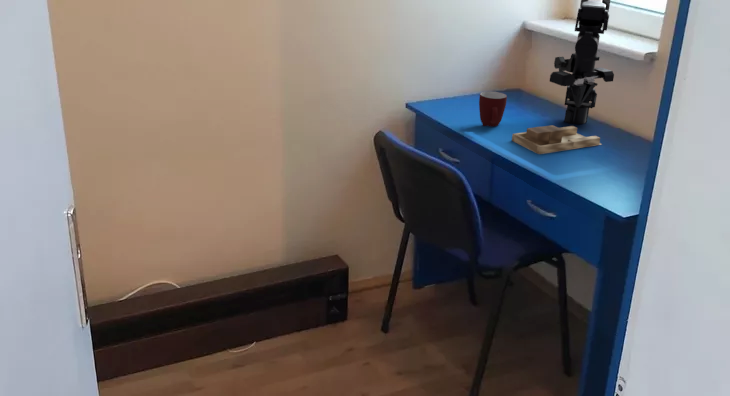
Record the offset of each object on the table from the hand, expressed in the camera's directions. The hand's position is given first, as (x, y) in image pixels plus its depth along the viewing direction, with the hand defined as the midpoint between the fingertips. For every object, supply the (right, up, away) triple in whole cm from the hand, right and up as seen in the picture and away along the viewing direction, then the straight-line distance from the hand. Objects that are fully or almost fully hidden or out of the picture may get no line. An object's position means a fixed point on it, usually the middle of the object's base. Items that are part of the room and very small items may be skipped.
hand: (577, 106), depth 209 cm
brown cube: (-8, -10, +1) cm, 13 cm away
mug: (-22, -5, +15) cm, 27 cm away
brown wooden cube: (-12, -11, -1) cm, 16 cm away
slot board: (-5, -11, +2) cm, 12 cm away
